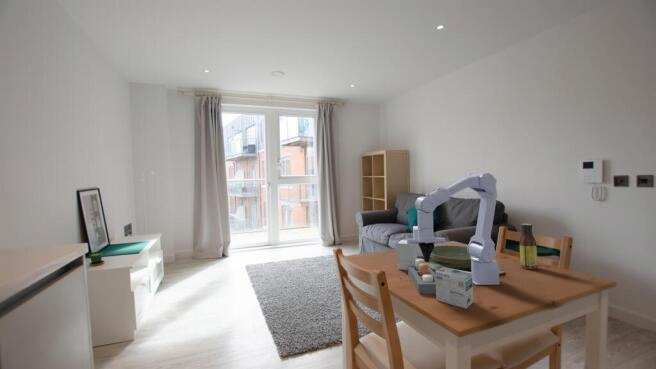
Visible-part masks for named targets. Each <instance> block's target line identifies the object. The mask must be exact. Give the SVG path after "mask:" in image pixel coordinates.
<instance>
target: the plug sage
mask: <svg viewBox="0 0 656 369" xmlns="http://www.w3.org/2000/svg"><path fill="white" fill-rule="evenodd" d="M420 263H425V261H424V258H417V259H416V271H419V264H420Z"/></svg>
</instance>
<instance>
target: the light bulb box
mask: <svg viewBox="0 0 656 369" xmlns="http://www.w3.org/2000/svg"><path fill="white" fill-rule="evenodd" d="M434 273H435V275H436V293H435V297H436V298H435V300H436V301H439V302H441V303H445V304H449V305H452V306H456V307H458V308H463V309H468V308H469V307H470V306H471V305H473V303H474V285H473V284H474V283H473V277H472V272H471V271H466V270H460V269H455V268H451V267H447V266H442V267H440V268H439V269H436V270H435V272H434Z"/></svg>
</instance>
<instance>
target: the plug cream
mask: <svg viewBox="0 0 656 369" xmlns="http://www.w3.org/2000/svg"><path fill="white" fill-rule="evenodd" d="M423 282H433V276H432V275H428V274H426V275H423Z"/></svg>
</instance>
